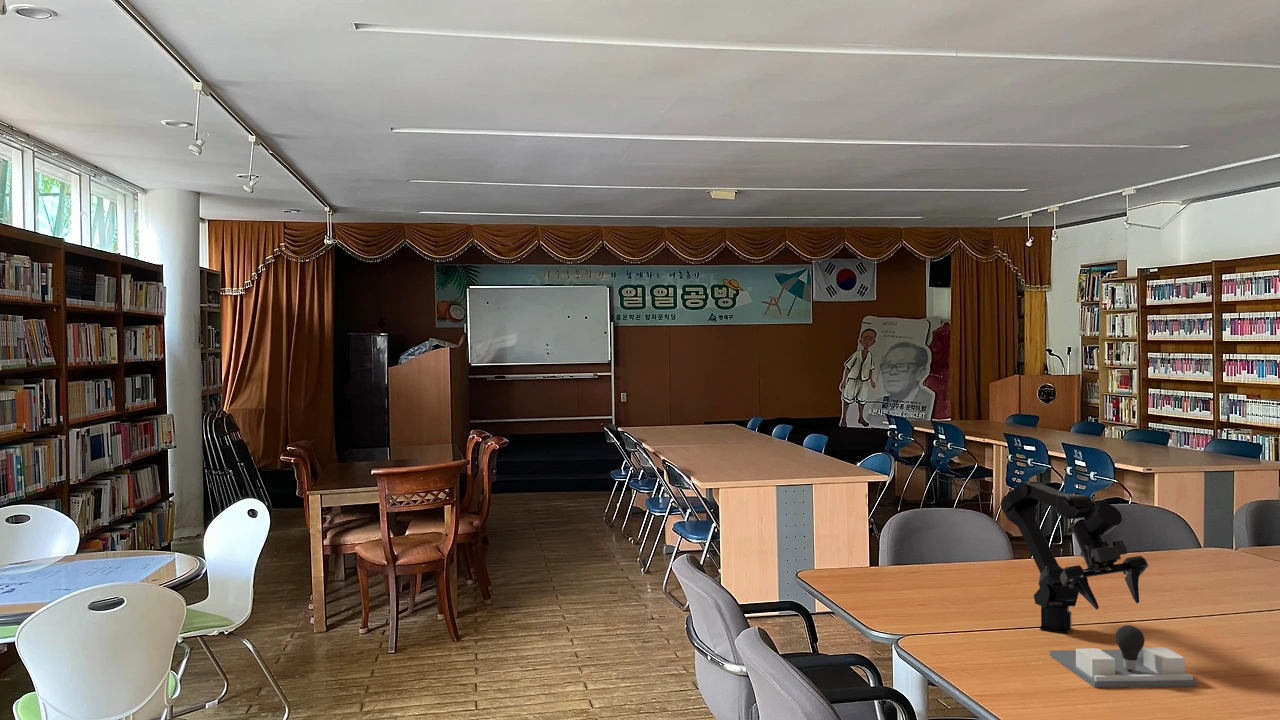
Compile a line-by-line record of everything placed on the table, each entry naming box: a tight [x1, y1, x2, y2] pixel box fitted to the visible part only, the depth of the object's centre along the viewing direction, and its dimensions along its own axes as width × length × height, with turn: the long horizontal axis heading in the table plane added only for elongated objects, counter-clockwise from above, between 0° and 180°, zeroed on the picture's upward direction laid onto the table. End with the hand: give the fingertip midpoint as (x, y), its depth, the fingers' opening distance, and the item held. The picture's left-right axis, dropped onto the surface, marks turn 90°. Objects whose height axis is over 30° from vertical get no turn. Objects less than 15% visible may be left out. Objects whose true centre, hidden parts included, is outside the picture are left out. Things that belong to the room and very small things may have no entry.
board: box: [1049, 646, 1197, 689], centre depth 200 cm, size 20×22×5 cm
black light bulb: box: [1115, 624, 1145, 671], centre depth 196 cm, size 6×6×10 cm
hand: (1117, 605), depth 206 cm, fingers open, 9 cm apart
